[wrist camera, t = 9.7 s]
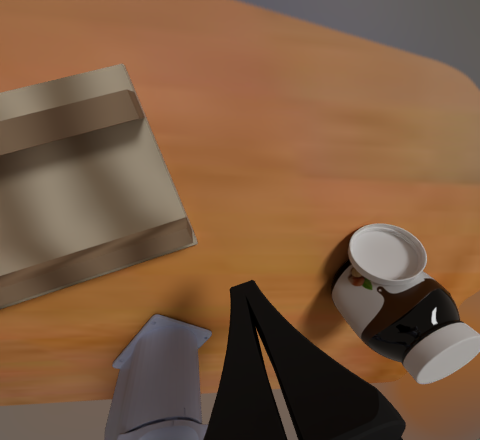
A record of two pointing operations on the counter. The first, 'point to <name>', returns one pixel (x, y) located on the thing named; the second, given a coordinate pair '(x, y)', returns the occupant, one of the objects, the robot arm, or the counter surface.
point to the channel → (81, 185)
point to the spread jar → (401, 304)
